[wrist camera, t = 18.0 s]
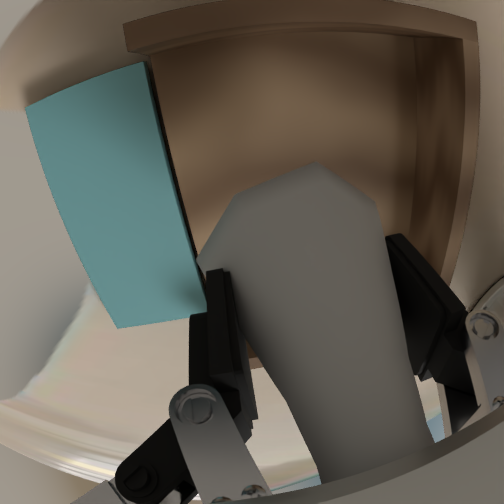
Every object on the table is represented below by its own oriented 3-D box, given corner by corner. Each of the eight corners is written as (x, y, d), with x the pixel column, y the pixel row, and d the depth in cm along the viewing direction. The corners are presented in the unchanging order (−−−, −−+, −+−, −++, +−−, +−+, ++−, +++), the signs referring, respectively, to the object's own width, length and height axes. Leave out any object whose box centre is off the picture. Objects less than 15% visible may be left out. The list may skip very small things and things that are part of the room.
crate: (403, 272, 25) (437, 320, 20) (218, 312, 24) (222, 373, 20) (412, 23, 14) (476, 21, 9) (151, 37, 13) (122, 24, 8)
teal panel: (209, 313, 22) (117, 328, 22) (209, 304, 23) (119, 319, 23) (142, 61, 13) (24, 107, 13) (146, 61, 14) (33, 105, 13)
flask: (161, 255, 11) (137, 563, 3) (319, 122, 9) (609, 389, 1) (279, 342, 15) (328, 545, 7) (404, 254, 13) (531, 445, 5)
